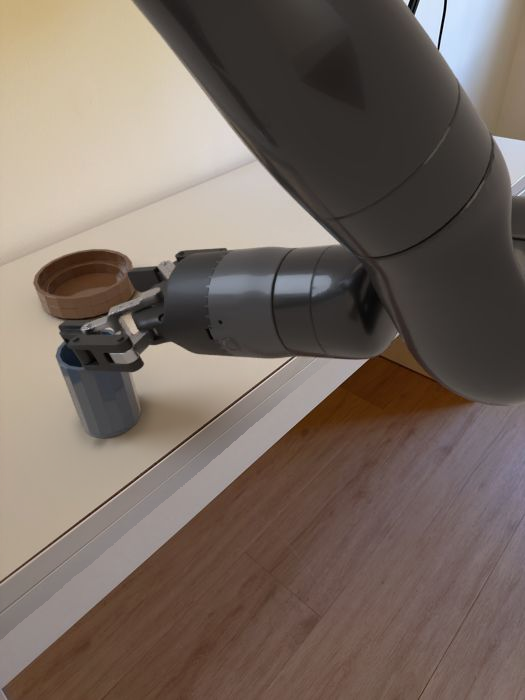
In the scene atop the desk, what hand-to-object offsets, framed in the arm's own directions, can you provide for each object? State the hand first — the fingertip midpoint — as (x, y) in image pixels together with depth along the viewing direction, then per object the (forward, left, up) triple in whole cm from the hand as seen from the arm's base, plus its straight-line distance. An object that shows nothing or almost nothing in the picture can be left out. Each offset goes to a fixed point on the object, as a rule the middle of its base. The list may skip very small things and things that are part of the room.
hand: (101, 305), depth 46 cm
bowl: (+3, +32, -18) cm, 37 cm away
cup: (-2, +5, -18) cm, 18 cm away
